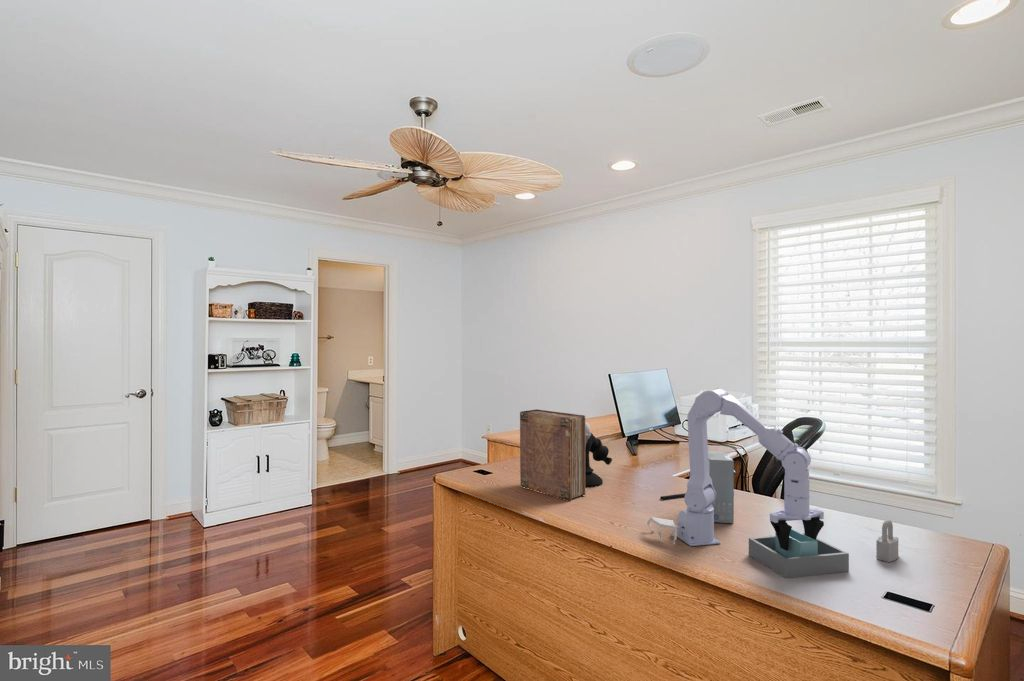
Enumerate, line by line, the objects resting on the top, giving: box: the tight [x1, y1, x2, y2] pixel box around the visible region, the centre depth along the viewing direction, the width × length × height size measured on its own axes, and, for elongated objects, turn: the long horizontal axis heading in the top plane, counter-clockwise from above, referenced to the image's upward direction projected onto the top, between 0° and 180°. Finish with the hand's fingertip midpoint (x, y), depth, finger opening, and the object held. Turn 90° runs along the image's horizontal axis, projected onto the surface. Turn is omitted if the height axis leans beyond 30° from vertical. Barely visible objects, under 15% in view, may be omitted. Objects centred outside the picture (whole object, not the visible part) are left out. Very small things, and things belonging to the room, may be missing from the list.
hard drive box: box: [708, 450, 735, 524], centre depth 171 cm, size 16×8×20 cm, turn 168°
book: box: [519, 409, 586, 502], centre depth 198 cm, size 25×9×30 cm, turn 44°
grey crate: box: [748, 532, 850, 579], centre depth 135 cm, size 18×14×4 cm
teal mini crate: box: [774, 528, 818, 558], centre depth 135 cm, size 5×9×6 cm, turn 12°
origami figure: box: [646, 516, 678, 545], centre depth 153 cm, size 12×8×5 cm
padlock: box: [875, 519, 899, 563], centre depth 138 cm, size 7×4×10 cm, turn 127°
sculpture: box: [585, 421, 613, 488], centre depth 214 cm, size 15×24×25 cm, turn 130°
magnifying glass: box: [659, 492, 686, 501], centre depth 193 cm, size 13×31×2 cm, turn 110°
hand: (796, 547), depth 135 cm, fingers open, 7 cm apart
